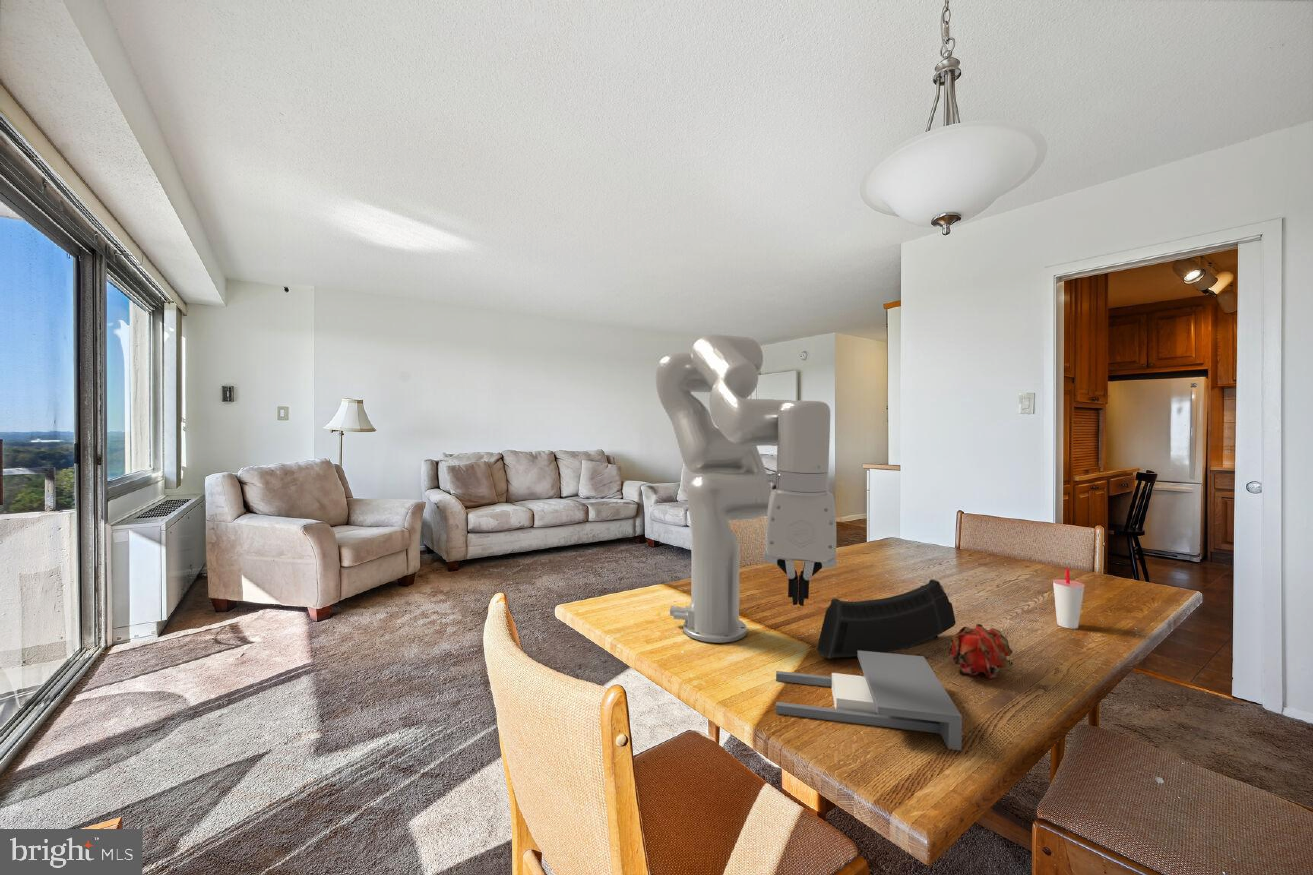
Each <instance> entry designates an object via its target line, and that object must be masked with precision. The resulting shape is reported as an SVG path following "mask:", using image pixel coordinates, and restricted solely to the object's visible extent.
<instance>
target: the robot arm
mask: <svg viewBox="0 0 1313 875" xmlns="http://www.w3.org/2000/svg"><path fill="white" fill-rule="evenodd" d="M763 362H764V354H763V350H762V347H761V345H760V344H759V343H758V342H757V341H756V340H755V339H753V338H751V337H747V336H739V335H737V336H736V335H727V334H725V335H724V334H709V335H704V336H702V337H700V338H698V339H697V340H696V341H695V342H694V343H693V345H692V347H691V350H690V352H680V353H679V352H677V353H672V354H668V355H666V356H664V357H662V358H661V359H660V360H659V362H658V364H657V366H656V370H655V386H656V392H657V395H658V398H659V400H660V401H659V402H660V403H661V406H662V407H663V409H664V410H665V412H666V414H667V416H668V418H669V420H670V422H671V425H672V427H673V431H674V435H675V438H676V440H677V441H676V442H677V444H678V448H679V451H680V456H681V457H682V460H683V464H684V466H685V467H686V470H688V471H689V473H692V474H696V475H697V476H695V477H694V478H693V479H692V480H691V481H690V482H689V484H688V486H687V490H686V502H687V507H688V513H689V520H690V534H691V536H690V537H691V539H690V540H691V541H690V542H691V550H690V551H691V552H690V553H691V561H690V562H691V563H690V564H691V569H690V570H691V572H690V573H691V580H690V583H691V584H690V585H691V587H690V588H691V589H690V592H691V594H690V597H691V598H690V605H685V607H681V606H677V605H676V606H674V605H670V607H669V616H670V617H672V616H673V620H679V621H680V620H682V621H684V622H683V624H682V625H683V627H682V630H683V632H684V634H685V635H687V636H688V637H690V638H691V639H695V640H697V641H701V642H705V643H713V644H715V643H716V644H717V643H718V644H719V643H721V644H722V643H725V644H726V643H731V642H736V641H739V640H741V639H742V638H744V637H745V636H746V635H747V632H748V631H747V630H748V628H747V625H746V623H745V622H744V621H743V620H741V619H740V542H739V540H738V537H737V535H736V534H735V532H734V531H733V529H732V528H731V526H730V524H729V522H731V521H737V520H738V521H741V520H753V519H760V518H764V517H766V522H765V523H766V525H765V537H764V541H765V544H764V545H765V549H764V553H763V557H762V560H763V561H764V562H765V563H768V564H771V565H775V566H778V567H779V569H780V570H781V571H783V573H784V574H786V576H787V578H788V583H787V585H788V586H787V598H792V599H791V600H792V606H797V605H799V606H800V607H804V606H805V600H808V599H809V598H810V597H809V595H810V594H809V592H810V580H811V579H812V577H814V576H815V575H816V574H817V573H818V572H819V571H821V570H822V569H823V570H824V569H825V570H826V569H833V568H835V567H837V559H836V555H837V514H836V504H835V498H834V494H833V493H831V492H829V466H830V465H829V464H830V462H829V461H830V439H831V436H830V434H831V409H830V406H829V405H828V403H826V402H824V401H820V400H792V399H772V398H771V399H769V398H767V399H766V398H749V397H750V396H751V395H752V394H753V393H754V392H755V390H756V388H757V386H758V383H759V372H760V371H761V370H762V366H763ZM692 393H710V394H709V403H708V404H709V410H708V407H706V406H705V404H703V402H702V401H701V400H699V398H697V397H696V396H695V395H694V394H692ZM757 446H758V447H759V446H761V447H762V446H763V447H764V446H771V447H775V446H776V450H777V451H776V471H774V472H772V473H768V472H767V470H766V467H765V464H764V462H763V460H762V457H761V455H760V452H759V449H758V447H757ZM772 484H773V486H775V488H773V486H772ZM794 561H798V562H803V565H802V570H800V574H799V575H798V572H797V570H796V569H795V563H794Z"/></svg>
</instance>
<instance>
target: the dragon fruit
mask: <svg viewBox="0 0 1313 875" xmlns="http://www.w3.org/2000/svg"><path fill="white" fill-rule="evenodd" d="M1013 653H1014V651H1013V649H1012V648H1011V646H1010V644H1009V640H1008V638H1007V637H1005V636H1004V635H1003V634H1002V633H1001V631H1000V630H999V629H996V628H993V627H992V628H990V629H986V628H984V626H983V624H980V623H976V626H975V628H971V627H969V626H963V627H962V628H960V629H959V631H957V633H955V635H953V636H952V638H951V639H950V646H949V648H948V655H950V658H951V660H952V661H953V663H954V664H955V665H958V666H960V668H959V670H958V671H957V672H958V673H959V674H960V675H961V674H965V675H968V676H976V675H977V674H980V673H984V675H985V676H986V678H988V679H989V680H990V679H991V680H992V679H993V678H995V677H998V676H999V671H1001V669H1000V668H1003V669H1006V670H1007V669H1011V668H1012V667H1013V666H1014V663H1013V661H1011V659H1008V658H1007V657H1011V656H1012V654H1013Z"/></svg>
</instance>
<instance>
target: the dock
mask: <svg viewBox="0 0 1313 875" xmlns="http://www.w3.org/2000/svg"><path fill="white" fill-rule="evenodd" d="M857 659H858V661H859V664H860V668H861V671H862V673H863V676H865V679H866V682H867V685H868V688H869V691H870V693H871V696H872V699H873V702H874V705H875V708H876V710H877V713H878V714H877V713H868V712H860V711H851V710H842V709H835V707H834V708H832V707H825V706H815V705H807V704H806V705H805V704H798V703H790V702H781V701H775V707H776V708H775V714H776V715H783V716H792V717H793V716H794V717H802V718H807V719H808V718H809V719H810V718H811V719H816V720H826V721H827V720H828V721H833V722H842V723H848V724H849V723H850V724H859V725H866V726H867V725H868V726H875V727H884V728H892V729H898V730H900V729H901V730H909V731H916V732H926V733H932V734H933V733H935V734H940V737H941V738H942V740H943V742H944V743H945V745H946V747H947V749H948V750H955V751H962V740H963V738H962V735H963V731H962V730H963V729H962V728H963V715H962V714H961V712H960V711H959V709H958V707H957V706H956V704H955V703H954V702H953V700H952V698H951V697H950V695H949V694H948V692H947V690H946V689H945V688H944V686H943V685H942V682H941V681H940V680H939V678H938V677H937V675H936V673H935V672H934V670H933V668H932V667H931V666H930V664H929V662H928V661H927V659H926V658H925V656H921V655H920V656H919V655H913V654H912V655H911V654H910V655H909V654H901V653H900V654H899V653H892V652H888V653H880V652H870V651H859V650H858V656H857ZM775 681H776V682H784V683H793V684H802V685H811V686H819V687H828V688H829V687H830V688H832V675H831V676H829V675H820V674H809V673H801V672H800V673H799V672H791V671H782V670H775Z"/></svg>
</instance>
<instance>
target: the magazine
mask: <svg viewBox="0 0 1313 875" xmlns="http://www.w3.org/2000/svg"><path fill="white" fill-rule="evenodd" d="M953 608H954V607H953V603H952V602H950V600H949V597H948V595H947V593H946V591H945V589H944V586H943V585H942V584H941V582H940V581H939V580H936V579H932V578H931V579H930V580H929V581H928V583H927V584H923V585H920V587H917V588H915V589H912V590H909V591H906V592H904V593H901V594H898V595H894V596H889V597H884V598H878V599H869V600H860V601H859V600H858V601H849V600H848V601H846V600H840V599H837V598H836V597H835V598H832V599H831V601H830V604H829V606H828V607H827V608H826V610H825V614H824V617H823V622H822V626H821V631H820V634H819V639H818V642H817V643H818V644H817V647H816V652H817V653H819V655H821V656H823V657H824V658H828V659H833V658H853V657H855V658H856V657H857V658H858V650H859V651H870V652H880V653H892V652H893V653H894V652H897V651H901V650H904V649H908V648H912V647H914V646H917V645H919V644H921V643H924V642H927V641H928V640H930V639H933V638H934V639H936V640H939V635H941V634H943V633H945V632H946V631H949V630H950V629H952V628H953V627H954V626H955V625H956V623H957V622H956V616H955V612H954V609H953Z"/></svg>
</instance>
